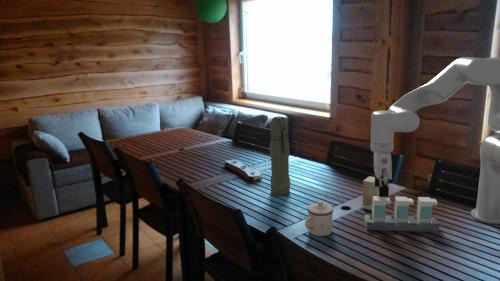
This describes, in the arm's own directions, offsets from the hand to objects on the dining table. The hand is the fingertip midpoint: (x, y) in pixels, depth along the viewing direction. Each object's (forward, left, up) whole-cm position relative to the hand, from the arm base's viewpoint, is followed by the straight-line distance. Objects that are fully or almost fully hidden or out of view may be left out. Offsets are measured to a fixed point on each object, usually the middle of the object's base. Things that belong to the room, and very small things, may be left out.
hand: (381, 191), depth 146 cm
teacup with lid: (+23, +6, -14) cm, 28 cm away
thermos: (+39, -31, -14) cm, 52 cm away
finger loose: (+1, 0, -12) cm, 12 cm away
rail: (-7, 0, -14) cm, 16 cm away
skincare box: (+1, -17, -14) cm, 22 cm away
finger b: (-7, 0, -12) cm, 14 cm away
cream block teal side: (-15, 0, -12) cm, 19 cm away
